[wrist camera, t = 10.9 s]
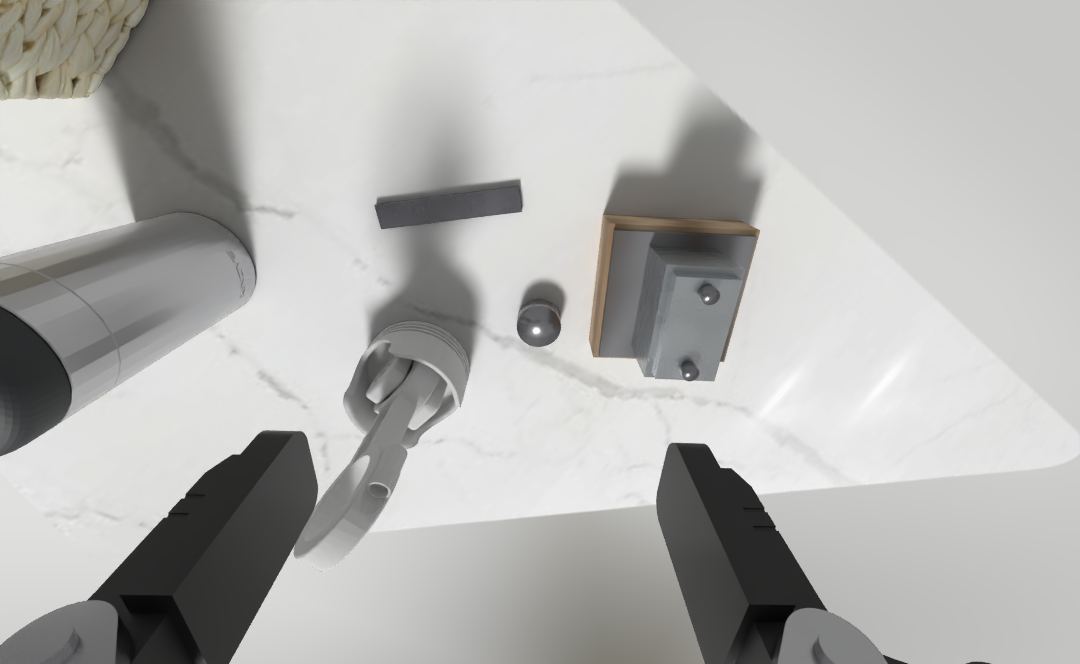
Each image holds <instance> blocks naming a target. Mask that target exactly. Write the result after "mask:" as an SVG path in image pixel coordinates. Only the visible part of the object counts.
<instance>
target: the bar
mask: <svg viewBox="0 0 1080 664" xmlns="http://www.w3.org/2000/svg"><path fill="white" fill-rule="evenodd" d="M375 209H376V212H377V216H378V219H379V223H380V226H381V229H387V228H395V227H403V226H412V225H420V224H428V223H436V222H444V221H452V220H460V219H468V218H476V217H484V216H492V215H500V214H508V213H516V212H522V208H521V201H520V193H519V186H514V187H507V188H499V189H491V190H483V191H475V192H467V193H459V194H452V195H444V196H436V197H428V198H420V199H412V200H405V201H397V202H389V203H381V204H376V205H375Z"/></svg>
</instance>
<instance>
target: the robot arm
mask: <svg viewBox="0 0 1080 664" xmlns="http://www.w3.org/2000/svg"><path fill="white" fill-rule="evenodd" d="M255 279H256V277H255V270H254V266H253V263H252V260H251V258H250V256H249V254H248V252H247V251H246V249H245V247H244V246H243V245H242V244H241V242H240V241H239V240H238V239H237V238H236V236H234V235H233V234H232V233H231V232H230V231H229V230H227V229H226V228H225V227H223V226H222V225H220V224H219V223H217V222H215V221H214V220H211V219H209V218H206V217H204V216H201V215H197V214H193V213H182V212H177V213H172V214H167V215H163V216H159V217H155V218H151V219H147V220H143V221H140V222H136V223H131V224H127V225H123V226H119V227H115V228H111V229H108V230H104V231H100V232H96V233H92V234H88V235H84V236H80V237H77V238H73V239H69V240H65V241H61V242H57V243H53V244H49V245H45V246H42V247H38V248H34V249H30V250H26V251H22V252H18V253H14V254H11V255H7V256H3V257H0V456H2V455H5V454H8V453H10V452H13V451H15V450H17V449H19V448H20V447H22V446H24V445H26V444H28V443H29V442H31V441H32V440H34V439H36V438H37V437H39V436H40V435H42V434H43V433H45V432H47V431H48V430H50V429H51V428H53V427H54V426H56V425H57V424H58V423H60V422H62V421H64V420H65V419H67V418H68V417H70V416H71V415H73V414H74V413H76V412H78V411H79V410H81V409H82V408H84V407H85V406H87V405H89V404H90V403H92V402H93V401H95V400H96V399H98V398H100V397H101V396H103V395H104V394H106V393H107V392H108V391H110V390H112V389H113V388H115V387H116V386H118V385H119V384H121V383H123V382H124V381H126V380H127V379H129V378H130V377H132V376H134V375H135V374H137V373H138V372H140V371H141V370H143V369H145V368H146V367H148V366H149V365H151V364H152V363H154V362H155V361H157V360H159V359H160V358H162V357H163V356H165V355H166V354H168V353H170V352H171V351H173V350H174V349H176V348H177V347H179V346H181V345H182V344H184V343H185V342H187V341H188V340H190V339H192V338H193V337H195V336H196V335H198V334H199V333H201V332H202V331H204V330H206V329H207V328H209V327H210V326H212V325H214V324H215V323H217V322H218V321H220V320H221V319H223V318H225V317H226V316H228V315H229V314H231V313H232V312H234V311H236V310H237V309H239V308H240V307H241V306H243V305H244V304H245V303H246V302H247V301H248V300H249V299H250V297H251V296H252V293H253V291H254V288H255ZM317 494H318V484H317V479H316V475H315V470H314V466H313V462H312V457H311V453H310V449H309V444H308V440H307V437H306V435H305V434H304V433H303V432H301V431H269V430H266V431H262V432H261V433H259V434H258V435H257V436H256V437H255V438H254V440H253V441H252V442H251V443H250V444H249V445H248V446H247V448H246V449H245V450H244V451H243V452H242V453H241V455H231V456H230V457H228V458H227V459H225V460H224V461H222V462H221V463H219V464H218V465H216V466H215V467H213V468H212V469H210V470H209V471H207V472H206V473H205V474H204V475H203V476H202V477H201V478H200V479H199V480H198V481H197V482H196V483H195V484H194V486H193V487H192V488H191V489H190V490H189V491H188V492H187V493H186V496H185V498H184V499H181V500H180V501H179V502H178V503H177V504H176V505H175V506H174V507H173V508H172V509H171V511H170V512H169V515H168V517H167V518H163V519H162V520H161V521H160V522H159V524H158V525H157V526H156V527H155V528H154V529H153V530H152V531H151V532H150V533H149V534H148V535H147V537H146V538H145V539H144V540H143V541H142V542H141V543H140V544H139V545H138V546H137V547H136V548H135V550H134V551H133V552H132V553H131V554H130V555H129V556H128V557H127V558H126V559H125V560H124V562H123V563H122V564H121V565H120V566H119V567H118V568H117V569H116V570H115V571H114V572H113V573H112V575H111V576H110V577H109V578H108V579H107V580H106V581H105V582H104V583H103V584H102V585H101V587H100V588H99V589H98V590H97V591H96V592H95V593H94V594H93V595H92V596H91V597H90V598H89V599H88V600H87V601H82V602H77V603H74V604H70V605H67V606H64V607H61V608H59V609H56V610H54V611H52V612H50V613H48V614H45V615H43V616H42V617H40V618H38V619H36V620H35V621H33V622H31V623H29V624H28V625H26V626H25V627H23V628H22V629H20V630H19V631H17V632H16V633H15V634H14V635H12V636H11V637H10V638H8V639H7V640H6V641H5V642H4V643H3V644H1V645H0V664H229V662H230V661H231V659H232V657H233V655H234V654H235V652H236V650H237V648H238V646H239V644H240V643H241V641H242V639H243V637H244V635H245V634H246V632H247V630H248V628H249V626H250V625H251V623H252V621H253V619H254V617H255V616H256V614H257V612H258V610H259V608H260V607H261V604H262V603H263V601H264V599H265V598H266V596H267V594H268V592H269V590H270V589H271V587H272V585H273V583H274V581H275V579H276V577H277V576H278V574H279V572H280V570H281V569H282V567H283V565H284V563H285V561H286V560H287V558H288V556H289V554H290V552H291V551H292V549H293V547H294V545H295V543H296V542H297V540H298V538H299V536H300V534H301V533H302V531H303V529H304V527H305V525H306V524H307V522H308V520H309V518H310V516H311V514H312V512H313V510H314V507H315V504H316V500H317ZM656 505H657V515H658V520H659V523H660V526H661V529H662V532H663V536H664V539H665V542H666V545H667V548H668V551H669V554H670V557H671V560H672V563H673V566H674V569H675V572H676V576H677V578H678V581H679V585H680V588H681V591H682V594H683V597H684V600H685V603H686V606H687V610H688V613H689V616H690V619H691V622H692V625H693V628H694V631H695V634H696V637H697V640H698V643H699V646H700V650H701V653H702V656H703V659H704V661H705V664H907V663H904V662H901V661H898V660H895V659H892V658H890V657H887V656H885V655H882V654H881V652H880V651H879V650H878V649H877V647H876V646H875V645H874V644H873V643H872V642H871V641H870V640H869V638H868V637H867V636H865V635H864V634H863V633H862V632H861V631H860V630H859V629H857V628H856V627H855V626H853V625H852V624H851V623H849V622H848V621H846V620H844V619H842V618H841V617H839V616H837V615H835V614H833V613H830V612H828V611H827V609H826V608H825V606H824V605H823V603H822V602H821V600H820V598H819V597H818V595H817V593H816V592H815V590H814V589H813V587H812V585H811V584H810V582H809V580H808V579H807V577H806V575H805V574H804V572H803V571H802V569H801V567H800V566H799V564H798V562H797V561H796V559H795V557H794V556H793V554H792V552H791V551H790V549H789V548H788V546H787V544H786V543H785V541H784V539H783V538H782V536H781V534H780V533H779V531H776V529H775V527H776V526H775V525H774V523H773V521H772V520H771V518H770V516H769V515H768V513H767V512H765V511H764V506H763V505H762V503H761V502H760V501H759V498H758V497H757V495H756V493H755V492H754V490H753V488H752V487H751V486H750V485H749V484H748V483H747V482H746V481H745V480H743V479H742V478H741V477H740V476H739V475H738V474H737V473H736V472H735V471H734V470H732V469H731V468H720V466H719V464H718V463H717V461H716V459H715V457H714V455H713V454H712V452H711V450H710V448H709V447H708V446H707V445H706V444H695V443H671V444H670V445H669V446H668V449H667V452H666V457H665V461H664V465H663V469H662V474H661V478H660V482H659V486H658V491H657V499H656ZM967 664H990V663H985V662H970V663H967Z"/></svg>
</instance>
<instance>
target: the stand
mask: <svg viewBox="0 0 1080 664" xmlns="http://www.w3.org/2000/svg"><path fill="white" fill-rule="evenodd" d="M759 233H760V230H758V229H756V228H754V227H752V226H750V225H748V224H746V223H744V222H742V221H724V220H703V219H682V218H661V217H640V216H619V215H603V220H602V228H601V237H600V246H599V255H598V264H597V273H596V282H595V291H594V300H593V309H592V318H591V327H590V335H589V342H590V346H591V350H592V354H593V357H604V358H632V359H636V357H635V354H634V352H633V350H632V347H631V344H632V338H633V333H634V327H635V321H636V316H637V310H638V305H639V299H640V293H641V288H642V282H643V277H644V271H645V265H646V260H647V254H648V249H649V245H653V246H669V247H686V248H702V249H718V250H719V251H721V252H722V253H724V254H725V255H726V256H728V257H729V258H731V259H732V260H734V261H735V262H736V263H738V264H739V265H741V266H742V267H744V268H745V269H746V270H745V274H744V277H743V282H742V286H741V289H740V293H739V296H738V300H737V303H736V307H735V310H734V314H733V317H732V321H731V324H730V328H729V331H728V335H727V338H726V342H725V345H724V349H723V352H722V356H721V359H720V362H724V360H725V357H726V353H727V349H728V346H729V342H730V338H731V335H732V331H733V327H734V324H735V320H736V317H737V313H738V309H739V306H740V302H741V298H742V295H743V291H744V287H745V284H746V280H747V276H748V273H749V269H750V266H751V262H752V258H753V255H754V251H755V247H756V244H757V240H758V236H759Z"/></svg>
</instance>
